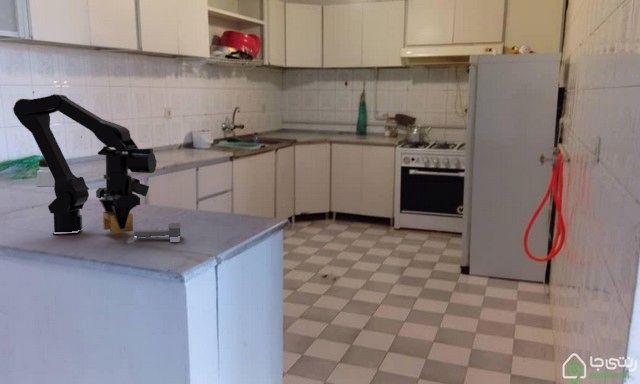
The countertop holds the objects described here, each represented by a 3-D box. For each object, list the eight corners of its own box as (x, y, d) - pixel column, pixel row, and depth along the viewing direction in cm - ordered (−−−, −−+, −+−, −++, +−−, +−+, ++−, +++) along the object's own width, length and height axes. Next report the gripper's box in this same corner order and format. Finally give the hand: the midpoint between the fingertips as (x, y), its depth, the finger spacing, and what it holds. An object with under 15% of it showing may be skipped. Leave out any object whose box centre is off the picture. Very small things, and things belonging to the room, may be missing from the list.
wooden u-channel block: (111, 233, 140) (110, 215, 139) (103, 229, 145) (103, 211, 144) (132, 231, 144) (132, 213, 143) (124, 226, 149) (124, 210, 148)
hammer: (133, 243, 136) (133, 229, 135) (135, 237, 142) (135, 223, 142) (180, 242, 139) (180, 228, 138) (180, 236, 146) (180, 222, 145)
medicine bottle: (55, 186, 231) (54, 160, 229) (37, 186, 228) (36, 160, 226) (57, 184, 237) (56, 158, 235) (39, 184, 235) (38, 158, 233)
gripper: (158, 174, 140) (159, 229, 142) (133, 167, 154) (134, 218, 156) (117, 175, 133) (118, 234, 135) (94, 168, 147) (96, 221, 149)
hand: (118, 226), depth 144 cm, fingers closed on wooden u-channel block, 6 cm apart
